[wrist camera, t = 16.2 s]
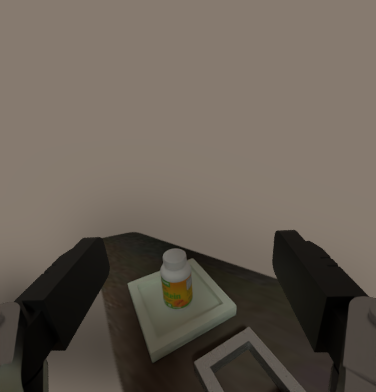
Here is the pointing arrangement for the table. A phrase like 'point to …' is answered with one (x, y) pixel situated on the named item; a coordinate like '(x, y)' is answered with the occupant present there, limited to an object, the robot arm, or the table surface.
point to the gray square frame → (233, 349)
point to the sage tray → (178, 320)
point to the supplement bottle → (176, 280)
